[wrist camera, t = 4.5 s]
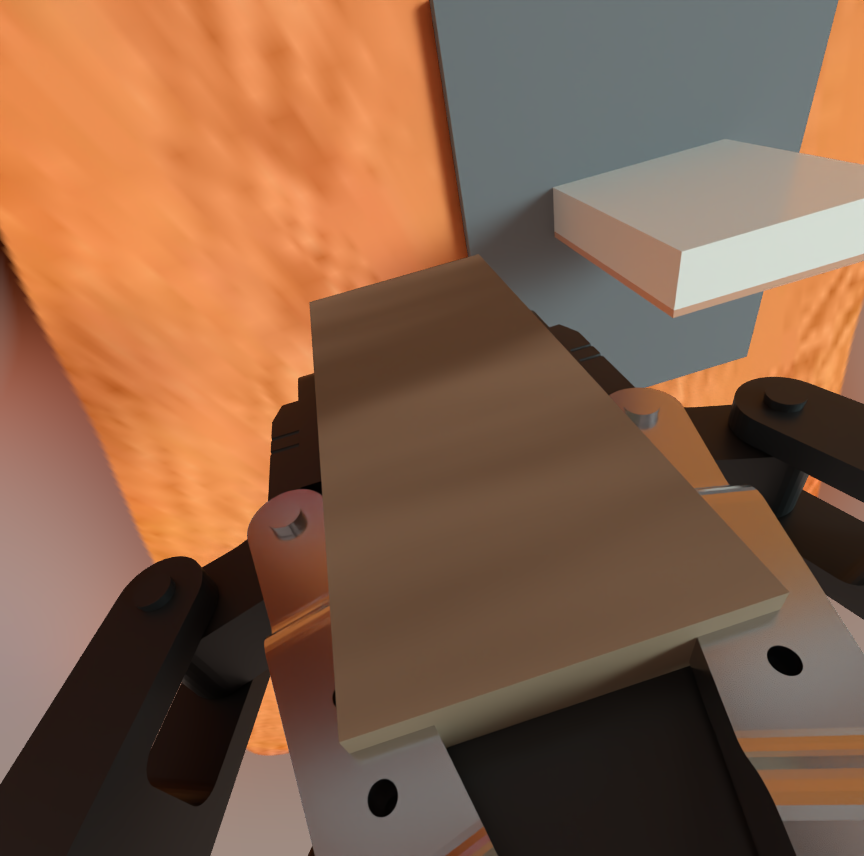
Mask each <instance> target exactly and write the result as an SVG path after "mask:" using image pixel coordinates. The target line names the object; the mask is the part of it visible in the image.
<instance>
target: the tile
mask: <svg viewBox="0 0 864 856" xmlns="http://www.w3.org/2000/svg"><path fill="white" fill-rule="evenodd" d="M553 202H554V232H555V238H557V239H558V240H560V241H561V242H563V243H564V244H566V245H567V246H568V247H570V248H571V249H573V250H574V251H576V252H577V253H579V254H580V255H582V256H583V257H585V258H586V259H587V260H589V261H590V262H592V263H593V264H595V265H596V266H598V267H599V268H601V269H602V270H603V271H605V272H606V273H608V274H609V275H611V276H612V277H614V278H615V279H617V280H618V281H620V282H621V283H622V284H624V285H625V286H627V287H628V288H630V289H631V290H633V291H634V292H636V293H637V294H639V295H640V296H641V297H643V298H644V299H646V300H647V301H649V302H650V303H652V304H653V305H655V306H656V307H657V308H659V309H660V310H662V311H663V312H665V313H666V314H668V315H669V316H671V317H672V318H675V317H678V316H682V315H685V314H688V313H692V312H695V311H698V310H702V309H705V308H708V307H712V306H715V305H718V304H722V303H725V302H728V301H732V300H735V299H738V298H742V297H745V296H748V295H752V294H755V293H758V292H762V291H765V290H768V289H772V288H775V287H778V286H782V285H785V284H788V283H792V282H795V281H798V280H802V279H805V278H808V277H812V276H815V275H818V274H822V273H825V272H828V271H832V270H835V269H838V268H842V267H845V266H848V265H852V264H855V263H858V262H862V261H864V165H861V164H856V163H851V162H845V161H840V160H835V159H829V158H824V157H819V156H813V155H808V154H803V153H798V152H792V151H787V150H782V149H776V148H771V147H766V146H760V145H755V144H750V143H744V142H739V141H734V140H728V139H723V140H719V141H716V142H712V143H709V144H705V145H702V146H698V147H695V148H691V149H687V150H684V151H680V152H677V153H673V154H670V155H666V156H663V157H659V158H655V159H652V160H648V161H645V162H641V163H638V164H634V165H631V166H627V167H624V168H620V169H616V170H613V171H609V172H606V173H602V174H599V175H595V176H592V177H588V178H584V179H581V180H577V181H574V182H570V183H567V184H563V185H560V186H556V187H553Z"/></svg>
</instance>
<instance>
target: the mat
mask: <svg viewBox="0 0 864 856" xmlns="http://www.w3.org/2000/svg"><path fill="white" fill-rule="evenodd" d="M429 1H430V8H431V14H432V21H433V27H434V34H435V41H436V47H437V54H438V61H439V67H440V74H441V80H442V87H443V94H444V100H445V107H446V114H447V120H448V127H449V133H450V140H451V147H452V153H453V160H454V167H455V173H456V180H457V186H458V193H459V200H460V206H461V213H462V220H463V226H464V233H465V239H466V246H467V253H468V257H470V256H474V255H477V254H479V255H480V256H481V257H482V258H483V259H484V260H485V262H486V263H487V264H488V265H489V266H490V267H491V268H492V269H493V270H494V271H495V272H496V273H497V275H498V276H499V277H500V278H501V279H502V280H503V281H504V282H505V283H506V284H507V285H508V287H509V288H510V289H511V290H512V291H513V292H514V293H515V294H516V295H517V296H518V297H519V298H520V300H521V301H522V302H523V303H524V304H525V305H526V306H527V307H528V308H529V309H530V310H533V311H534V312H535V313H536V314H537V315H538V316H539V317H540V318H541V319H542V320H543V321H544V322H545V323H546V324H547V325H548V326H549V327H552V326H555V325H558V324H560V325H563V326H565V327H568V328H570V329H573V330H575V331H578V332H579V333H580V334H581V335H582V336H583V337H584V338H585V339H586V340H587V341H588V342H589V343H591V346H594V347H595V348H596V349H597V350H598V351H599V352H600V354H601V356H604V357H605V358H606V359H607V360H608V361H609V362H610V363H611V364H612V365H613V366H614V367H615V368H616V369H617V370H618V371H619V372H620V373H621V374H622V375H623V376H624V377H625V378H626V379H627V380H628V381H629V382H630V383H631V384H632V385H633V386H634V387H635V388H645V387H649V386H652V385H655V384H658V383H662V382H665V381H668V380H671V379H675V378H678V377H681V376H684V375H688V374H691V373H694V372H697V371H701V370H704V369H707V368H710V367H714V366H717V365H720V364H723V363H727V362H730V361H733V360H736V359H740V358H743V357H746V356H747V353H748V349H749V345H750V342H751V338H752V334H753V330H754V326H755V322H756V318H757V314H758V310H759V307H760V303H761V299H762V295H763V291H762V292H758V293H755V294H752V295H748V296H745V297H742V298H738V299H735V300H732V301H728V302H725V303H722V304H718V305H715V306H712V307H708V308H705V309H702V310H698V311H695V312H692V313H688V314H685V315H682V316H678V317H675V318H672V317H671V316H669V315H668V314H666V313H665V312H663V311H662V310H660V309H659V308H657V307H656V306H655V305H653V304H652V303H650V302H649V301H647V300H646V299H644V298H643V297H641V296H640V295H639V294H637V293H636V292H634V291H633V290H631V289H630V288H628V287H627V286H625V285H624V284H622V283H621V282H620V281H618V280H617V279H615V278H614V277H612V276H611V275H609V274H608V273H606V272H605V271H603V270H602V269H601V268H599V267H598V266H596V265H595V264H593V263H592V262H590V261H589V260H587V259H586V258H585V257H583V256H582V255H580V254H579V253H577V252H576V251H574V250H573V249H571V248H570V247H568V246H567V245H566V244H564V243H563V242H561V241H560V240H558V239H557V238H555V232H554V202H553V187H556V186H560V185H563V184H567V183H570V182H574V181H577V180H581V179H584V178H588V177H592V176H595V175H599V174H602V173H606V172H609V171H613V170H616V169H620V168H624V167H627V166H631V165H634V164H638V163H641V162H645V161H648V160H652V159H655V158H659V157H663V156H666V155H670V154H673V153H677V152H680V151H684V150H687V149H691V148H695V147H698V146H702V145H705V144H709V143H712V142H716V141H719V140H723V139H728V140H734V141H739V142H744V143H750V144H755V145H760V146H766V147H771V148H776V149H782V150H787V151H792V152H798V153H799V151H800V147H801V143H802V139H803V136H804V132H805V128H806V124H807V120H808V116H809V112H810V108H811V105H812V101H813V97H814V93H815V89H816V85H817V81H818V77H819V73H820V70H821V66H822V62H823V58H824V54H825V50H826V46H827V42H828V38H829V35H830V31H831V27H832V23H833V19H834V15H835V11H836V7H837V3H838V0H429Z"/></svg>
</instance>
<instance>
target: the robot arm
mask: <svg viewBox="0 0 864 856" xmlns="http://www.w3.org/2000/svg"><path fill="white" fill-rule="evenodd" d="M531 312H532V313H533V314H534V315H535V316H536V317H537V318H538V319H539V320H540V321H541V322H542V323H543V325H544V326H545V327H546V328H547V329H548V330H549V331H550V332H551V333H552V334H553V335H554V337H555V338H556V339H557V340H558V341H559V342H560V343H561V344H562V345H563V346H564V347H565V348H566V350H567V351H568V352H569V353H570V354H571V355H572V356H573V357H574V358H575V359H576V360H577V362H578V363H579V364H580V365H581V366H582V367H583V368H584V369H585V370H586V371H587V372H588V374H589V375H590V376H591V377H592V378H593V379H594V380H595V381H596V382H597V383H598V384H599V385H600V387H601V388H602V389H603V390H604V391H605V392H606V393H607V394H608V395H609V396H610V397H611V399H612V400H613V401H614V402H615V403H616V404H617V405H618V406H619V407H620V408H621V409H622V410H623V412H624V413H625V414H626V415H627V416H628V417H629V418H630V419H631V420H632V421H633V422H634V424H635V425H636V426H637V427H638V428H639V429H640V430H641V431H642V432H643V433H644V434H645V435H646V437H647V438H648V439H649V440H650V441H651V442H652V443H653V444H654V445H655V446H656V447H657V449H658V450H659V451H660V452H661V453H662V454H663V455H664V456H665V457H666V458H667V459H668V460H669V462H670V463H671V464H672V465H673V466H674V467H675V468H676V469H677V470H678V471H679V472H680V474H681V475H682V476H683V477H684V478H685V479H686V480H687V481H688V482H689V483H690V484H691V486H692V487H693V488H694V489H695V490H696V491H697V492H698V493H699V494H700V495H701V496H702V497H703V499H704V500H705V501H706V502H707V503H708V504H709V505H710V506H711V507H712V508H713V509H714V511H715V512H716V513H717V514H718V515H719V516H720V517H721V518H722V519H723V520H724V521H725V522H726V524H727V525H728V526H729V527H730V528H731V529H732V530H733V531H734V532H735V533H736V534H737V536H738V537H739V538H740V539H741V540H742V541H743V542H744V543H745V544H746V545H747V546H748V547H749V549H750V550H751V551H752V552H753V553H754V554H755V555H756V556H757V557H758V558H759V559H760V561H761V562H762V563H763V564H764V565H765V566H766V567H767V568H768V569H769V570H770V571H771V572H772V574H773V575H774V576H775V577H776V578H777V579H778V580H779V581H780V582H781V583H782V584H783V586H784V587H785V588H786V589H787V590H788V591H789V592H790V593H789V594H788V596H787V598H786V600H785V602H784V604H783V606H782V608H781V609H780V610H777V611H774V612H771V613H768V614H765V615H762V616H759V617H756V618H753V619H750V620H747V621H744V622H741V623H738V624H735V625H732V626H729V627H726V628H723V629H720V630H717V631H714V632H711V633H708V634H705V635H702V636H699V637H697V639H696V642H695V645H694V648H693V651H692V654H691V657H690V660H689V664H690V666H687V667H684V668H681V669H678V670H675V671H672V672H669V673H666V674H663V675H661V676H658V677H655V678H652V679H649V680H646V681H643V682H640V683H637V684H634V685H631V686H628V687H625V688H622V689H619V690H616V691H613V692H610V693H607V694H604V695H601V696H598V697H595V698H592V699H589V700H586V701H584V702H581V703H578V704H575V705H572V706H569V707H566V708H563V709H560V710H557V711H554V712H551V713H548V714H545V715H542V716H539V717H536V718H533V719H530V720H527V721H524V722H521V723H518V724H515V725H512V726H509V727H507V728H504V729H501V730H498V731H495V732H492V733H489V734H486V735H483V736H480V737H477V738H474V739H471V740H468V741H465V742H462V743H459V744H456V745H453V746H450V747H447V748H446V746H445V744H444V742H443V740H442V739H441V737H440V735H439V733H438V731H437V729H436V727H435V725H433V726H430V727H427V728H424V729H421V730H418V731H415V732H412V733H409V734H406V735H403V736H400V737H397V738H394V739H391V740H388V741H385V742H382V743H380V744H377V745H374V746H371V747H368V748H365V749H362V750H359V751H356V752H353V753H350V754H349V753H348V752H347V751H346V750H345V749H344V747H343V746H342V745H341V744H340V743H339V738H338V723H337V708H336V693H335V678H334V663H333V648H332V633H331V618H330V603H329V588H328V573H327V558H326V542H325V527H324V512H323V497H322V482H321V467H320V452H319V437H318V422H317V407H316V392H315V377H314V373H313V374H310V375H306V376H303V377H299V378H298V401H296V402H293V403H289V404H286V405H283V406H282V407H281V409H280V410H279V412H278V414H277V415H276V417H275V419H274V420H273V422H272V441H271V453H272V455H271V456H270V475H269V494H268V502H267V503H265V504H264V505H263V506H262V507H261V508H260V509H259V510H258V511H257V512H256V514H255V515H254V517H253V518H252V520H251V522H250V524H249V527H248V532H247V538H248V539H247V540H246V541H244V542H243V543H242V544H241V545H239V546H238V547H236V548H235V549H233V550H231V551H230V552H228V553H226V554H224V555H223V556H221V557H219V558H218V559H216V560H214V561H212V562H211V563H209V564H207V565H206V566H204V567H201V566H200V565H199V564H198V563H197V562H196V561H195V560H193V559H192V558H189V557H183V556H178V557H171V558H167V559H164V560H162V561H159V562H157V563H155V564H153V565H152V566H150V567H148V568H147V569H145V570H144V571H142V572H141V573H140V574H138V575H137V576H136V577H135V578H134V579H133V580H132V581H131V582H130V583H129V584H128V585H127V586H126V587H125V589H124V590H123V591H122V593H121V594H120V596H119V597H118V599H117V600H116V602H115V604H114V605H113V607H112V608H111V610H110V612H109V613H108V615H107V616H106V618H105V619H104V621H103V623H102V624H101V626H100V627H99V629H98V630H97V632H96V634H95V635H94V637H93V638H92V640H91V642H90V643H89V645H88V646H87V648H86V650H85V651H84V653H83V654H82V656H81V657H80V659H79V661H78V662H77V664H76V666H75V667H74V669H73V670H72V672H71V673H70V675H69V676H68V678H67V680H66V681H65V683H64V685H63V686H62V688H61V689H60V691H59V693H58V694H57V696H56V697H55V699H54V700H53V702H52V703H51V705H50V707H49V708H48V710H47V711H46V713H45V715H44V716H43V718H42V719H41V721H40V722H39V724H38V726H37V727H36V729H35V730H34V732H33V733H32V735H31V737H30V738H29V740H28V741H27V743H26V745H25V747H24V748H23V749H22V751H21V753H20V754H19V756H18V757H17V759H16V761H15V762H14V764H13V765H12V767H11V768H10V770H9V772H8V773H7V775H6V776H5V778H4V779H3V781H2V783H1V784H0V856H210V855H211V851H212V849H213V846H214V843H215V840H216V837H217V834H218V831H219V828H220V825H221V822H222V819H223V816H224V813H225V810H226V807H227V804H228V801H229V798H230V795H231V792H232V789H233V786H234V783H235V780H236V777H237V774H238V771H239V768H240V765H241V762H242V759H243V756H244V753H245V750H246V747H247V744H248V741H249V738H250V735H251V732H252V729H253V726H254V723H255V720H256V717H257V714H258V711H259V708H260V705H261V702H262V699H263V696H264V693H265V690H266V687H267V684H268V681H269V678H270V676H271V680H272V684H273V688H274V692H275V696H276V700H277V704H278V708H279V712H280V716H281V720H282V724H283V728H284V732H285V736H286V741H287V745H288V749H289V753H290V757H291V760H292V765H293V769H294V773H295V777H296V781H297V785H298V789H299V793H300V797H301V801H302V805H303V809H304V813H305V818H306V822H307V825H308V829H309V834H310V838H311V842H312V848H311V850H310V852H309V854H308V856H864V654H863V652H862V651H861V649H860V648H859V646H858V645H857V643H856V642H855V640H854V638H853V637H852V635H851V634H850V632H849V630H848V629H847V627H846V626H845V624H844V623H843V621H842V620H841V618H840V616H839V615H838V613H837V612H836V610H835V608H834V607H833V606H832V604H831V602H830V601H829V599H828V598H827V596H829V597H830V598H831V599H833V600H835V601H836V602H838V603H839V604H841V605H842V606H844V607H845V608H847V609H848V610H850V611H851V612H853V613H854V614H856V615H857V616H859V617H861V618H862V619H864V522H862V521H860V520H858V519H856V518H855V517H853V516H851V515H849V514H847V513H845V512H844V511H841V510H840V509H838V508H836V507H834V506H832V505H830V504H828V503H827V502H825V501H823V500H821V499H819V498H817V497H815V496H813V495H811V494H810V493H808V492H806V491H804V490H802V489H803V487H804V484H805V482H806V480H807V478H808V476H809V475H810V476H812V477H814V478H816V479H818V480H820V481H822V482H824V483H826V484H828V485H830V486H832V487H834V488H836V489H838V490H840V491H842V492H844V493H846V494H848V495H850V496H852V497H854V498H856V499H858V500H860V501H862V502H864V404H862V403H860V402H857V401H854V400H852V399H849V398H846V397H844V396H841V395H839V394H836V393H833V392H831V391H828V390H825V389H823V388H820V387H817V386H815V385H812V384H810V383H807V382H804V381H800V380H796V379H791V378H784V377H765V378H758V379H754V380H751V381H748V382H746V383H744V384H743V385H741V386H740V387H739V388H738V389H737V391H736V393H735V397H734V400H733V404H732V405H722V406H708V407H689V408H686V407H683V406H682V404H681V403H680V402H679V401H678V400H677V399H676V398H674V397H673V396H671V395H669V394H667V393H665V392H662V391H659V390H655V389H650V388H635V387H634V386H633V385H632V384H631V383H630V382H629V381H628V380H627V379H626V378H625V377H624V376H623V375H622V374H621V373H620V372H619V371H618V370H617V369H616V368H615V367H614V366H613V365H612V364H611V363H610V362H609V361H608V360H607V359H606V358H605V357H604V356H601V354H600V352H599V351H598V350H597V349H596V348H595V347H594V346H591V343H589V342H588V341H587V340H586V339H585V338H584V337H583V336H582V335H581V334H580V333H579V332H578V331H575V330H573V329H570V328H568V327H565V326H563V325H560V324H558V325H555V326H552V327H549V326H548V325H547V324H546V323H545V322H544V321H543V320H542V319H541V318H540V317H539V316H538V315H537V314H536V313H535V312H534V311H533V310H531ZM826 595H827V596H826ZM181 682H182V683H181ZM180 684H181V685H180ZM179 686H180V687H179ZM177 691H178V692H177ZM176 693H177V694H176ZM175 695H176V696H175ZM174 697H175V698H174ZM173 699H174V700H173ZM172 702H173V703H172ZM171 704H172V705H171ZM170 706H171V707H170ZM169 708H170V709H169ZM168 710H169V711H168ZM167 712H168V713H167ZM166 715H167V716H166ZM165 717H166V718H165ZM164 719H165V720H164ZM163 721H164V722H163ZM162 723H163V724H162ZM160 728H161V729H160ZM159 730H160V731H159ZM158 732H159V733H158ZM157 734H158V735H157ZM156 736H157V737H156ZM154 741H155V742H154ZM153 743H154V744H153ZM152 745H153V746H152Z"/></svg>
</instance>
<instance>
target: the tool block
mask: <svg viewBox="0 0 864 856" xmlns="http://www.w3.org/2000/svg"><path fill="white" fill-rule="evenodd" d="M310 317H311V332H312V347H313V362H314V377H315V392H316V407H317V422H318V437H319V452H320V467H321V482H322V497H323V512H324V527H325V542H326V558H327V573H328V588H329V603H330V618H331V633H332V648H333V663H334V678H335V693H336V708H337V723H338V738H339V743H340V744H341V745H342V746H343V747H344V749H345V750H346V751H347V752H348V753H349V754H350V753H353V752H356V751H359V750H362V749H365V748H368V747H371V746H374V745H377V744H380V743H382V742H385V741H388V740H391V739H394V738H397V737H400V736H403V735H406V734H409V733H412V732H415V731H418V730H421V729H424V728H427V727H430V726H433V725H435V727H436V729H437V731H438V733H439V735H440V737H441V739H442V740H443V742H444V744H445V746H446V748H447V747H450V746H453V745H456V744H459V743H462V742H465V741H468V740H471V739H474V738H477V737H480V736H483V735H486V734H489V733H492V732H495V731H498V730H501V729H504V728H507V727H509V726H512V725H515V724H518V723H521V722H524V721H527V720H530V719H533V718H536V717H539V716H542V715H545V714H548V713H551V712H554V711H557V710H560V709H563V708H566V707H569V706H572V705H575V704H578V703H581V702H584V701H586V700H589V699H592V698H595V697H598V696H601V695H604V694H607V693H610V692H613V691H616V690H619V689H622V688H625V687H628V686H631V685H634V684H637V683H640V682H643V681H646V680H649V679H652V678H655V677H658V676H661V675H663V674H666V673H669V672H672V671H675V670H678V669H681V668H684V667H687V666H690V664H689V660H690V657H691V654H692V651H693V648H694V645H695V642H696V639H697V637H699V636H702V635H705V634H708V633H711V632H714V631H717V630H720V629H723V628H726V627H729V626H732V625H735V624H738V623H741V622H744V621H747V620H750V619H753V618H756V617H759V616H762V615H765V614H768V613H771V612H774V611H777V610H780V609H781V608H782V606H783V604H784V602H785V600H786V598H787V596H788V594H789V593H790V592H789V591H788V590H787V589H786V588H785V587H784V586H783V584H782V583H781V582H780V581H779V580H778V579H777V578H776V577H775V576H774V575H773V574H772V572H771V571H770V570H769V569H768V568H767V567H766V566H765V565H764V564H763V563H762V562H761V561H760V559H759V558H758V557H757V556H756V555H755V554H754V553H753V552H752V551H751V550H750V549H749V547H748V546H747V545H746V544H745V543H744V542H743V541H742V540H741V539H740V538H739V537H738V536H737V534H736V533H735V532H734V531H733V530H732V529H731V528H730V527H729V526H728V525H727V524H726V522H725V521H724V520H723V519H722V518H721V517H720V516H719V515H718V514H717V513H716V512H715V511H714V509H713V508H712V507H711V506H710V505H709V504H708V503H707V502H706V501H705V500H704V499H703V497H702V496H701V495H700V494H699V493H698V492H697V491H696V490H695V489H694V488H693V487H692V486H691V484H690V483H689V482H688V481H687V480H686V479H685V478H684V477H683V476H682V475H681V474H680V472H679V471H678V470H677V469H676V468H675V467H674V466H673V465H672V464H671V463H670V462H669V460H668V459H667V458H666V457H665V456H664V455H663V454H662V453H661V452H660V451H659V450H658V449H657V447H656V446H655V445H654V444H653V443H652V442H651V441H650V440H649V439H648V438H647V437H646V435H645V434H644V433H643V432H642V431H641V430H640V429H639V428H638V427H637V426H636V425H635V424H634V422H633V421H632V420H631V419H630V418H629V417H628V416H627V415H626V414H625V413H624V412H623V410H622V409H621V408H620V407H619V406H618V405H617V404H616V403H615V402H614V401H613V400H612V399H611V397H610V396H609V395H608V394H607V393H606V392H605V391H604V390H603V389H602V388H601V387H600V385H599V384H598V383H597V382H596V381H595V380H594V379H593V378H592V377H591V376H590V375H589V374H588V372H587V371H586V370H585V369H584V368H583V367H582V366H581V365H580V364H579V363H578V362H577V360H576V359H575V358H574V357H573V356H572V355H571V354H570V353H569V352H568V351H567V350H566V348H565V347H564V346H563V345H562V344H561V343H560V342H559V341H558V340H557V339H556V338H555V337H554V335H553V334H552V333H551V332H550V331H549V330H548V329H547V328H546V327H545V326H544V325H543V323H542V322H541V321H540V320H539V319H538V318H537V317H536V316H535V315H534V314H533V313H532V312H531V310H530V309H529V308H528V307H527V306H526V305H525V304H524V303H523V302H522V301H521V300H520V298H519V297H518V296H517V295H516V294H515V293H514V292H513V291H512V290H511V289H510V288H509V287H508V285H507V284H506V283H505V282H504V281H503V280H502V279H501V278H500V277H499V276H498V275H497V273H496V272H495V271H494V270H493V269H492V268H491V267H490V266H489V265H488V264H487V263H486V262H485V260H484V259H483V258H482V257H481V256H480V255H479V254H477V255H474V256H470V257H467V258H463V259H460V260H456V261H453V262H449V263H446V264H442V265H439V266H435V267H432V268H428V269H425V270H421V271H418V272H414V273H410V274H407V275H403V276H400V277H396V278H393V279H389V280H386V281H382V282H379V283H375V284H372V285H368V286H365V287H361V288H358V289H354V290H351V291H347V292H344V293H340V294H337V295H333V296H330V297H326V298H323V299H319V300H316V301H312V302H310Z"/></svg>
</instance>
